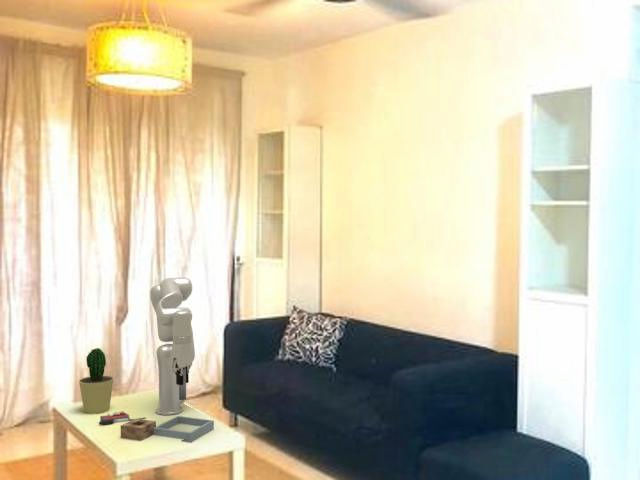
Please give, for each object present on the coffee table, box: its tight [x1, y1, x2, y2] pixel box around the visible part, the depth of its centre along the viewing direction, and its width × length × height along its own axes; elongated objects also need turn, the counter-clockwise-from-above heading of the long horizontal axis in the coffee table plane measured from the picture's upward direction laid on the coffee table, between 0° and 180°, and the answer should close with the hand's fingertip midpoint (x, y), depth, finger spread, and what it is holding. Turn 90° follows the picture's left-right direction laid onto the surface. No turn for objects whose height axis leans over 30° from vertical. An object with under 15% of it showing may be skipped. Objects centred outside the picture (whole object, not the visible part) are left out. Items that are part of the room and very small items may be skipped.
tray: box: [152, 415, 215, 443], centre depth 276 cm, size 18×18×4 cm
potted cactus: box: [78, 347, 114, 415], centre depth 309 cm, size 15×15×30 cm
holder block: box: [120, 418, 157, 442], centre depth 270 cm, size 10×10×6 cm
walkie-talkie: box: [98, 410, 147, 426], centre depth 293 cm, size 9×4×20 cm
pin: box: [177, 364, 188, 400], centre depth 275 cm, size 5×5×15 cm
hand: (182, 383), depth 275 cm, fingers closed on pin, 3 cm apart
